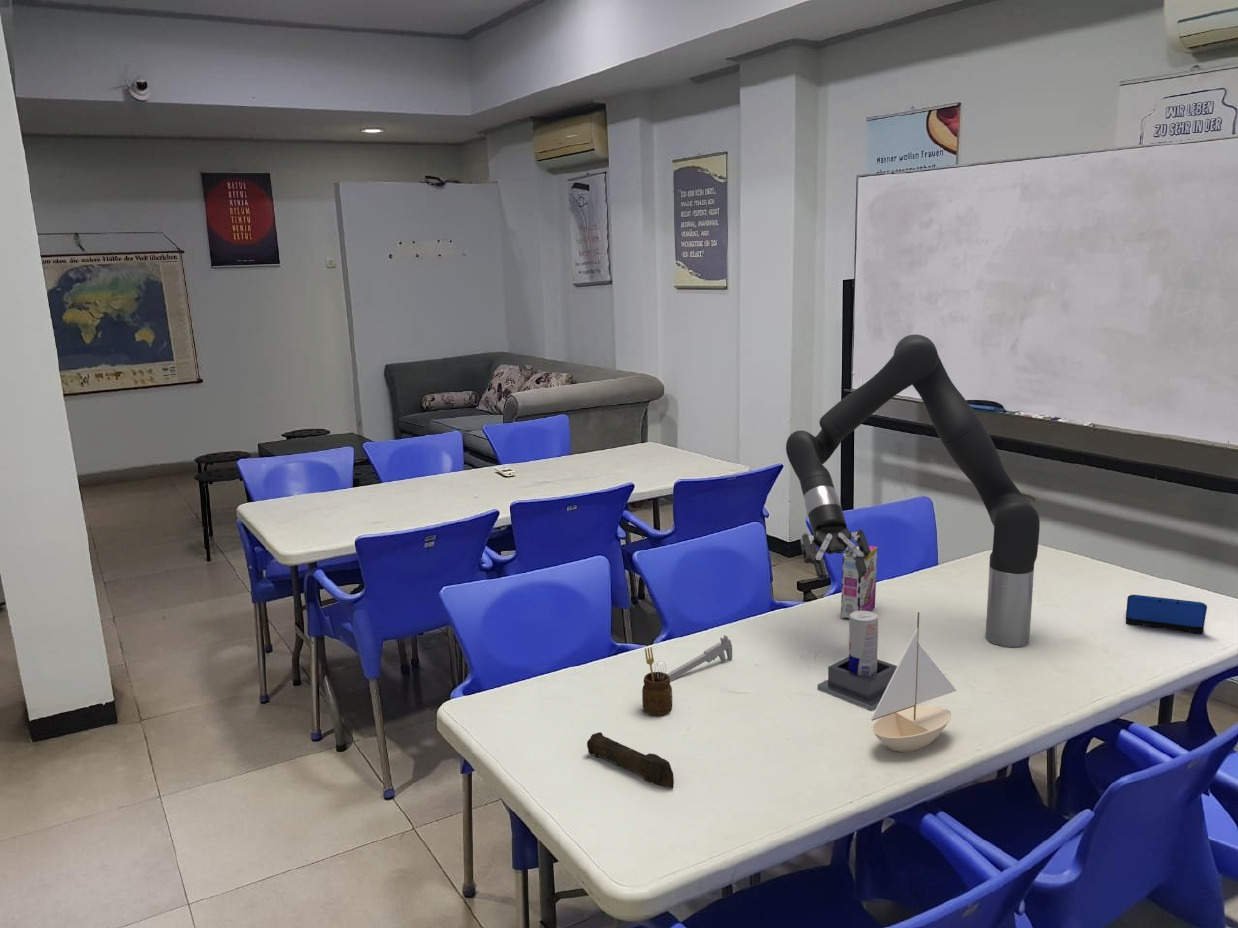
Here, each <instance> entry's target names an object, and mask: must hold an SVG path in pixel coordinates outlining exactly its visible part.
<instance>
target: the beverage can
mask: <svg viewBox="0 0 1238 928" xmlns="http://www.w3.org/2000/svg"><path fill="white" fill-rule="evenodd" d="M848 622H849V623H848V628H849V629H848V657H849V671H850V672H853V673H856V674H858V675H861V676H864V677H866V678H870V677H872V676H874V675H876V674H877V659H878V646H879V644H878V641H879V640H878V639H879V636H878V635H879V634H878V633H879V620H878V614H877V613H875V612H873V611H871V612H869V611H856V612H852V613H851V614H850V618H849V620H848Z"/></svg>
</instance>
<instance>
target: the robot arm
mask: <svg viewBox="0 0 1238 928" xmlns="http://www.w3.org/2000/svg"><path fill="white" fill-rule="evenodd" d="M911 386H912V387H913V388H914V390H915V391H916V392H917V393H918V395H919V397H920V398H921V400H922V402H923V403H924V407H925V409H926V411H927V413H928V416H929V418H930V420H931V423H932V425H933V427H934V429H935V431H936V433H937V435H938V437H939V440H940V441H941V442H942V445H943V446H944V448H945V449H946V450H947V452H948V454H949V456H950V457H951V459H952V460H953V461H954V462H955V464H956V466H957V467H958V468H959V470H961V472H962V473H963V474H964V475H965V476H966V478H967V479H969V481H970V482H971V484H972V485H973V487H974V488H975V489H976V491H977V492H978V495H979V497H980V499H981V501H982V503H983V504H984V507H985V509H986V511H987V513H988V516H989V518H990V522H991V524H992V526H993V539H992V551H991V553H990V555H989V563H988V564H989V566H988V585H987V586H988V587H987V588H988V589H987V601H986V602H987V603H986V619H985V622H986V623H985V635H984V636H985V639H986V640H987V641H988V642H989V643H992V644H994V645H998V646H1002V647H1007V648H1009V647H1010V648H1019V647H1024V646H1027V645H1029V643H1030V637H1031V624H1032V623H1031V621H1032V610H1033V609H1032V608H1033V606H1032V605H1033V592H1034V591H1033V589H1034V573H1035V563H1036V560H1037V557H1038V549H1039V542H1040V541H1039V539H1040V528H1041V527H1040V525H1041V523H1040V522H1041V521H1040V515H1039V513H1038V511H1037V510H1036V508H1035V507H1034V505H1032V503H1031V502H1030V501H1029V499H1027V497H1026V496H1024V495H1023V493H1022V492H1021V491H1020V490H1019V488H1018V486H1016V485H1015V483H1014V482H1013V480H1012V479H1011V478H1010V476H1009V475H1008V473H1007V471H1006V469H1005V467H1004V466H1003V463H1002V460H1001V458H1000V455H999V452H998V450H997V448H996V445H995V444H994V441H993V439H992V438H991V435H990V433H989V432H988V430H987V429H986V427H985V425H984V424H983V422H982V420H981V419H980V417H979V416H978V415H977V413H976V412H975V411H974V409H973V407H972V406H971V405H970V403H969V402H968V401H967V399H966V398H965V397H964V396H963V395H962V393H961V392H960V391H959V390H958V389H957V387H956V385H955V384H954V383H953V381H952V380H951V378H950V377H949V375H948V372H947V369H946V368H945V366H944V364H943V363H942V360H941V358H940V356H939V352H938V350H937V347H936V345H935V344H934V342H933V341H932V340H931V339H930V338H928V337H927V336H925V335H921V334H916V333H915V334H909V335H906V336H904V337H903V338H901V339H900V340H899V341H898V342H897V344H896V346H895V348H894V350H893V355H892V356H891V358H890V359H889V360H888V361H887V362H886V363H885V365H884V366H883V367H882V368H881V369H880V370H879V371H878V372H877V373H875V374H874V375H873V376H872V377H871V378H870V379H868V381H866V382H865V383H863V384H862V385H860V386H859V387H858V388H856V389H854V390H853V391H852V392H850V393H849V394H847V395H845V396H844V397H843V398H842V399H840V400H839V402H837V403H836V404H835V405H833V406H832V407H831V408H830V409H829V410H828V411H827V412H825V413H824V414H823V415H822V416H821V417H820V418H819V427H820V428H821V429H820V431H819V432H818V433H817V435H816V436H815V435H813V434H812V433H810V432H808V431H806V430H796V431H794V432H792V433H790V435H789V436H788V437H787V440H786V443H785V450H786V457H787V459H788V461H789V463H790V465H791V467H792V469H793V472H794V473H795V475H796V477H797V478H798V480H799V484H800V488H801V492H802V496H803V501H804V507H805V512H806V515H807V518H808V521H809V526H810V529H811V532H812V535H808V533H803V534H802V536H801V538H800V539H799V543H800V547H801V552H802V558H803V562H804V563H805V564H812V565H813V566H814V569H815V572H816V576H817V578H818V579H820V581H825V580H826V579H827V571H826V568H825V564H824V561H823V560H822V558H823V556H824V554H825V553H826V554H827V555H832V554H842V553H844V554H846V555H847V556H850V557H852V558H853V559H854V560H855V561H856V562H855V565H856V568H857V571H858V575H859V577H863V576H864V575H865V573H866V571H867V568H866V565H865V562H864V559H866V558H867V557H868V555H869V554H870V552H871V551H870V548H869V543H868V541H867V538H866V535H865V532H864V530H863V529H861V528H860V529H858V530H857V531H853V532H850V530H849V529H848V526H847V525H848V524H847V522H846V518H845V515H844V512H843V508H842V504H841V501H840V499H839V495H838V493H837V491H836V489H835V486H834V482H833V479H832V475H831V474H830V472H829V469H828V468H826V466H824V464H825V463H826V462H827V461H828V460H830V458H831V457H832V456H833V454H834V452H835V451H836V450H837V449H838V447H839V446H840V444H841V443H842V441H843V440H844V439H845V438H846V437H848V435H850V434H852V432H853V431H855V430H856V429H857V428H859V427H860V426H861V424H863V423H864V422H865V421H866V420H868V419H869V418H870V417H871V416H872V415H873V414H875V413H876V412H877V411H878V410H879V409H880V408H882V406H883V405H885V404H886V403H888V402H889V401H890V400H891V399H893V398H894V397H896V396H897V395H898V394H900V393H901V392H903V391H905V390H907V388H909V387H911ZM851 539H852V540H853V541H854V542H852V541H851ZM812 543H814V545H816V546H817V547H818V548H819V549H818V551H817V553H816V554H815V555H813V552H812V548H811V547H812V546H811V545H812ZM855 543H856V544H857V545H856V544H855ZM856 546H858V547H859V549H858V548H856Z"/></svg>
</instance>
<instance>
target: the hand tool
mask: <svg viewBox="0 0 1238 928" xmlns="http://www.w3.org/2000/svg"><path fill="white" fill-rule="evenodd" d="M586 747H587V753H588V754H589V755H594V756H595V758H599V757H600V758H602V759H605V760H607V761H609V762H612V763H613V764H615V765H617V766H621V767H622V768H624V769H627V770H629V771H632V772H634V773H636V774H638V775H639V776H641V777H642V778H643V780H644V782H647V783H650V784H653V785H654V786H655V785H656V786H659V787H662V788H663V787H664V788H668V789H669V788H670V789H673V788H674V786H675V785H674V784H675V781H674V780H675V779H674V778H675V777H674V772H673V769H672V766H671V763H670V762H669V761H668V760H666V759H665V758H662V757H661V756H660V755H658V754H655V753H650V752H649V753H647V754H644V753H641V752H640V751H637V750H635V749H633V748H630V747H628V746H626V745H624V744H622V743H620V742H617V741H615V740H613V739H611V738H610V737H607V736H604V735H603V733H602V732H601V731H600V732H599V731H598V732H596V733H592V734H591V736H590V738H589V739H588V740H587V741H586Z"/></svg>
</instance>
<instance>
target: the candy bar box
mask: <svg viewBox="0 0 1238 928" xmlns="http://www.w3.org/2000/svg"><path fill="white" fill-rule="evenodd" d="M868 545H869V544H868ZM856 548H858V549H859V547H858V545H856ZM869 548H870V551H871V552H870V554H869V555H868V557H867V558H866V559H864V562H865V565H866V568H867V571H866V573H865V575H864V576H863V577H859V575H858V571H857V568H856V565H855V562H856V561H855V560H854V559H853V558H852V557H850V556H847V555H846V554H845V553H844V554H842V567H841V568H842V570H841V571H842V575H841V602H840V603H841V605H840V619H844V620H847V621H849V618H850V614H851V613H852V612H856V611H869V612H873V610H875V608H876V593H877V592H876V590H877V573H878V572H877V571H878V569H877V568H878V567H877V566H878V548H879V547H878V546H875V545H869Z"/></svg>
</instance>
